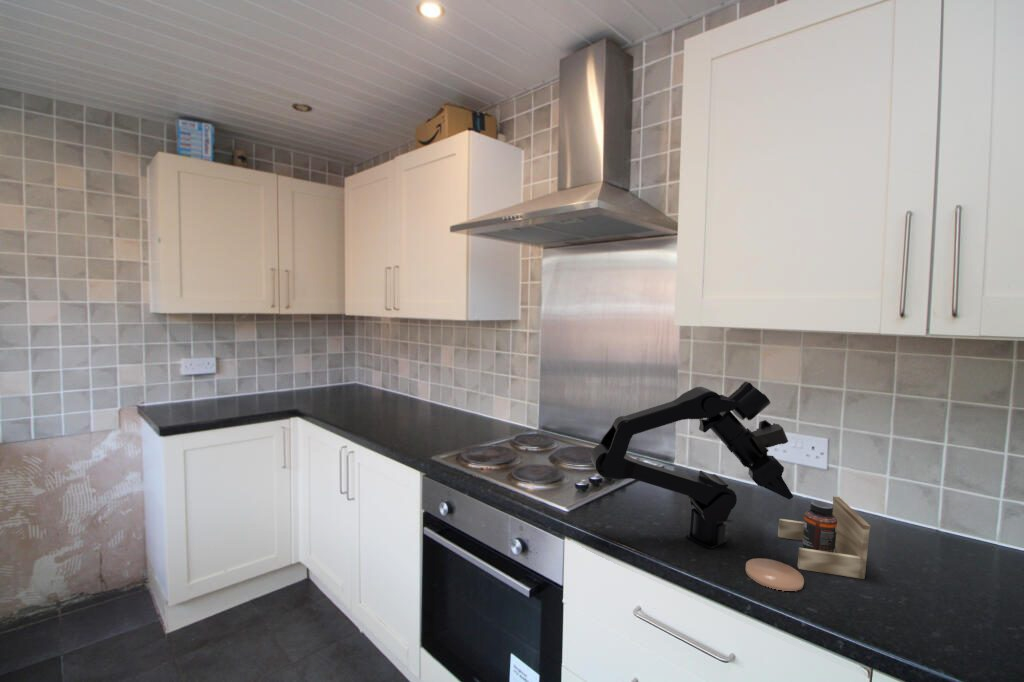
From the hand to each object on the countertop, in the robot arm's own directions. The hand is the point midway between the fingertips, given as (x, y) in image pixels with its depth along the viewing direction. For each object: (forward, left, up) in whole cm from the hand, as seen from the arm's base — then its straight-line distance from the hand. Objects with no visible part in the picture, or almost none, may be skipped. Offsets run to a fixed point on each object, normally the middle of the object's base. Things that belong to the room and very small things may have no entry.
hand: (784, 489), depth 105 cm
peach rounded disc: (+5, -12, -13) cm, 19 cm away
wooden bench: (+6, +5, -13) cm, 15 cm away
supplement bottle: (+6, +5, -14) cm, 16 cm away
